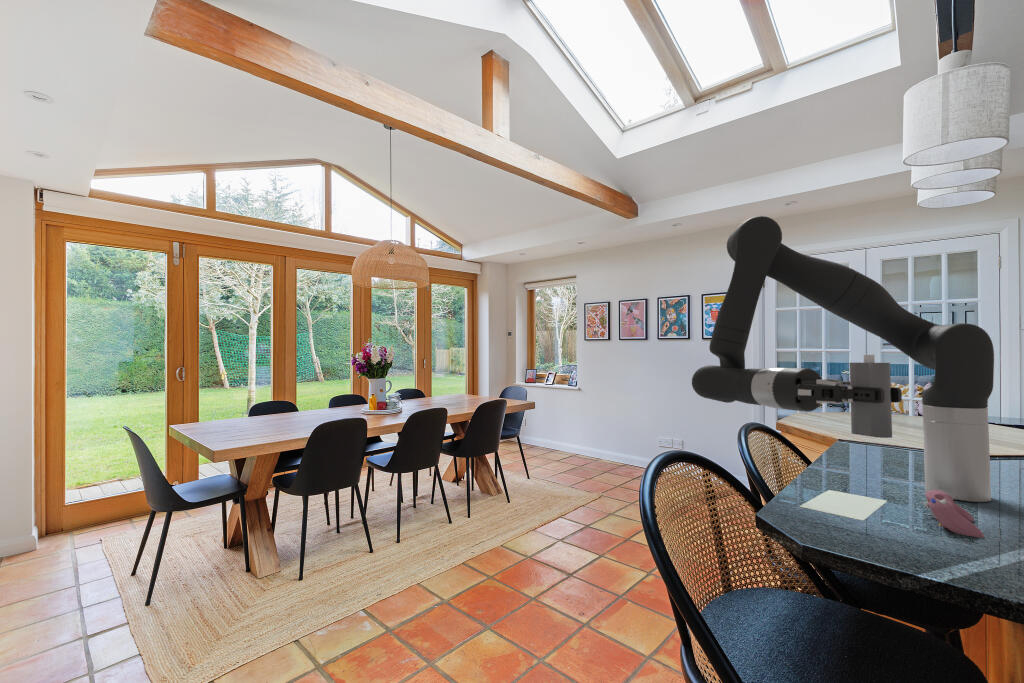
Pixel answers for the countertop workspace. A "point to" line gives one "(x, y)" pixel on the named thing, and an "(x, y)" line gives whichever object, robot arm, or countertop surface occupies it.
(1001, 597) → the countertop surface
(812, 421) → the countertop surface
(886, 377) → the candle
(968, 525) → the video game controller
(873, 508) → the mat
